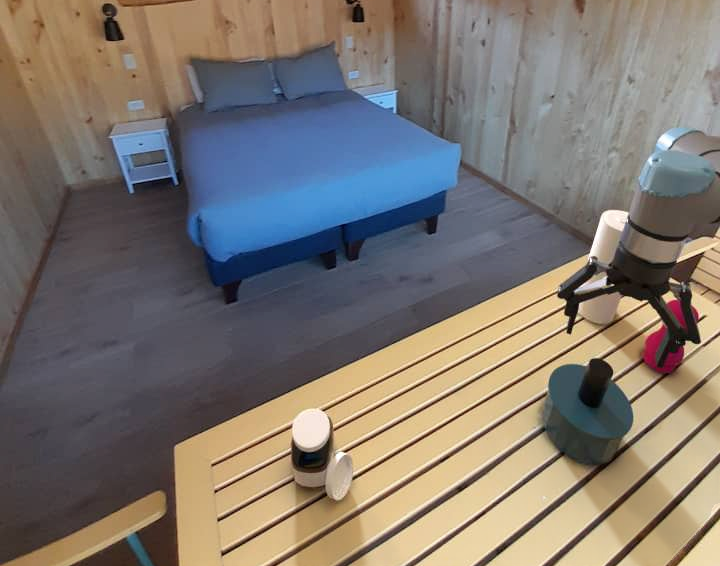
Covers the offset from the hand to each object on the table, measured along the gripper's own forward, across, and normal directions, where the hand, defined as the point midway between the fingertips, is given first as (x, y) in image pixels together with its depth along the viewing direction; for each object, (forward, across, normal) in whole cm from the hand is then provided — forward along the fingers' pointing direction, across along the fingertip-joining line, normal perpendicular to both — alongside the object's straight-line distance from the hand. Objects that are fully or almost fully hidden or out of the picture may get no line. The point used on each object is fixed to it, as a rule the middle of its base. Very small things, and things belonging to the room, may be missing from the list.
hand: (611, 344), depth 70 cm
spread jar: (+25, +41, +32) cm, 58 cm away
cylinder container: (+26, -1, -36) cm, 44 cm away
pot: (+25, 0, 0) cm, 25 cm away
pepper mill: (+26, -15, -26) cm, 39 cm away
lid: (+16, 0, 0) cm, 16 cm away
